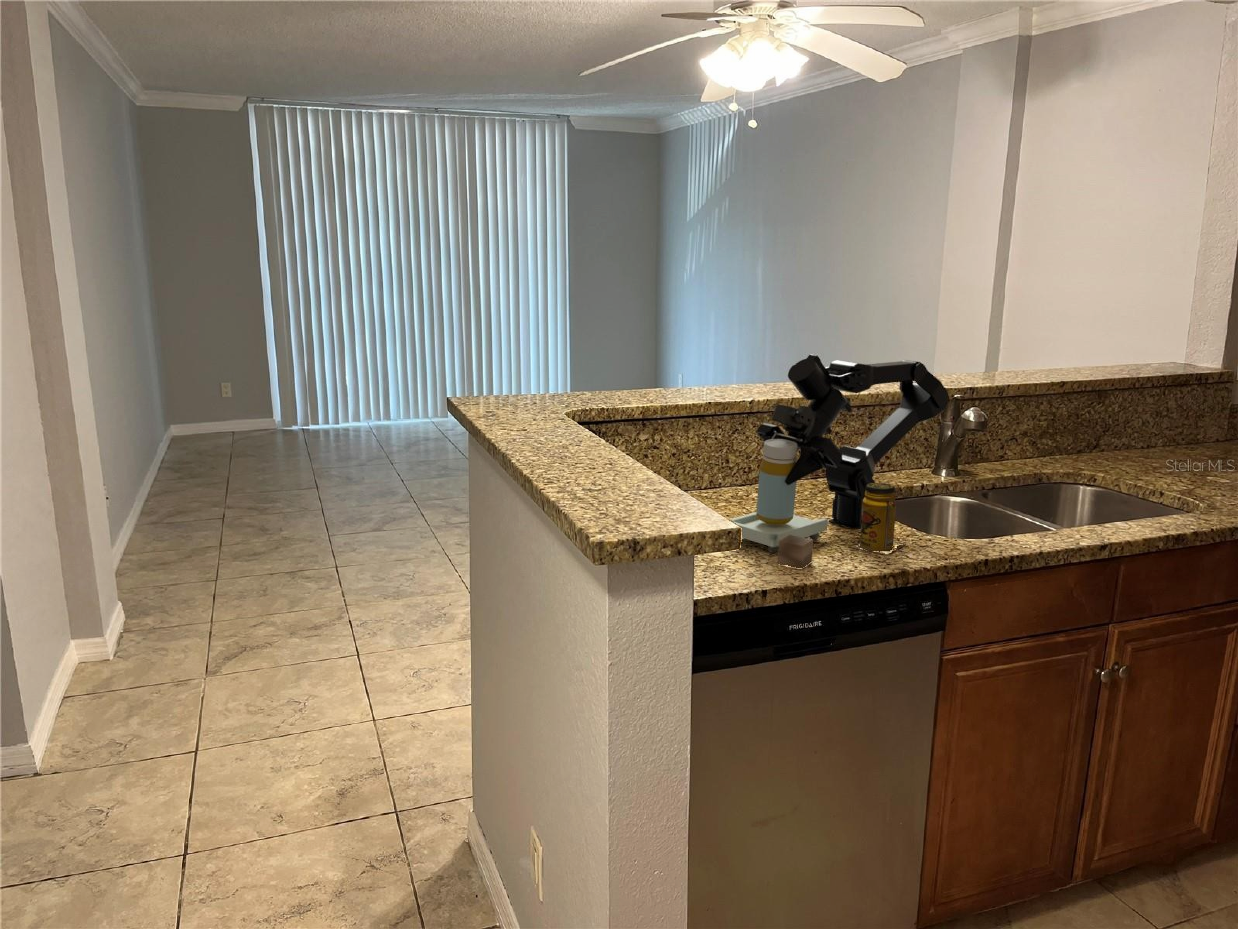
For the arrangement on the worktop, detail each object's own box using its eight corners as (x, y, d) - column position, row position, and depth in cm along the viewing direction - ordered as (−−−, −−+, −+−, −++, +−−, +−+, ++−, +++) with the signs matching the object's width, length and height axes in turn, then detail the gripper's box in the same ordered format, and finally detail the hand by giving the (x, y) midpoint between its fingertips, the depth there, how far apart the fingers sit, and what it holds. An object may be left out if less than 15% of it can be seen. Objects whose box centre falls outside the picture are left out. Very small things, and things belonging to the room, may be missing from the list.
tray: (826, 539, 178) (827, 519, 177) (772, 556, 167) (773, 535, 166) (777, 525, 186) (778, 505, 185) (723, 540, 176) (724, 520, 175)
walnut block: (811, 563, 164) (813, 539, 163) (801, 570, 161) (802, 546, 160) (788, 558, 167) (789, 534, 166) (777, 565, 163) (778, 541, 162)
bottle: (800, 520, 176) (807, 444, 172) (776, 528, 172) (783, 450, 167) (772, 509, 181) (778, 436, 177) (748, 517, 177) (754, 442, 172)
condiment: (850, 548, 173) (854, 485, 170) (870, 537, 179) (875, 477, 176) (887, 556, 168) (892, 492, 165) (906, 545, 174) (911, 483, 172)
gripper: (764, 382, 180) (718, 444, 177) (834, 395, 164) (785, 463, 161) (793, 417, 186) (749, 478, 183) (863, 433, 170) (816, 500, 167)
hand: (773, 479), depth 173 cm, fingers closed on bottle, 7 cm apart
